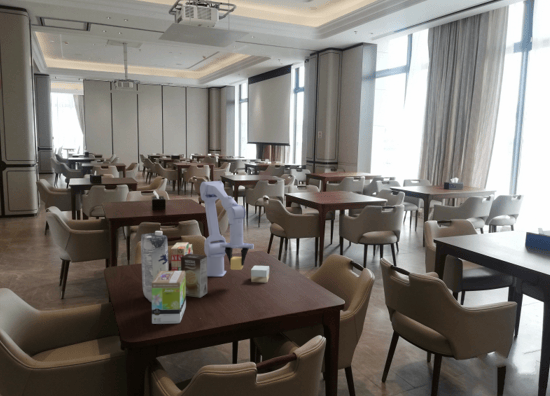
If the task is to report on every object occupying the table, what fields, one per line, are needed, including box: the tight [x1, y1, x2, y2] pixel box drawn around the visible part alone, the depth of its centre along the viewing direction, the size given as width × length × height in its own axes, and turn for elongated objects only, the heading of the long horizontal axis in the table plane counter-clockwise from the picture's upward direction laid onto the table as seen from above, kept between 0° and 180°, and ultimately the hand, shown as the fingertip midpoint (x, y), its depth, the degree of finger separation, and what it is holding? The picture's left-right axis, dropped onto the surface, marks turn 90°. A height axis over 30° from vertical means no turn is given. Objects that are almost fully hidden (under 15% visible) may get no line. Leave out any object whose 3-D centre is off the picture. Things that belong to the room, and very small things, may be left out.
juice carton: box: [140, 230, 170, 303], centre depth 173 cm, size 9×10×27 cm
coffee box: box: [181, 253, 208, 298], centre depth 178 cm, size 9×6×16 cm
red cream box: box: [170, 242, 194, 271], centre depth 218 cm, size 21×6×12 cm, turn 0°
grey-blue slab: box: [250, 265, 270, 277], centre depth 197 cm, size 7×7×3 cm
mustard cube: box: [230, 256, 244, 271], centre depth 188 cm, size 4×4×4 cm
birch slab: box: [250, 273, 270, 283], centre depth 197 cm, size 7×7×3 cm
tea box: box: [151, 270, 187, 325], centre depth 155 cm, size 15×10×15 cm
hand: (236, 264), depth 188 cm, fingers closed on mustard cube, 4 cm apart
